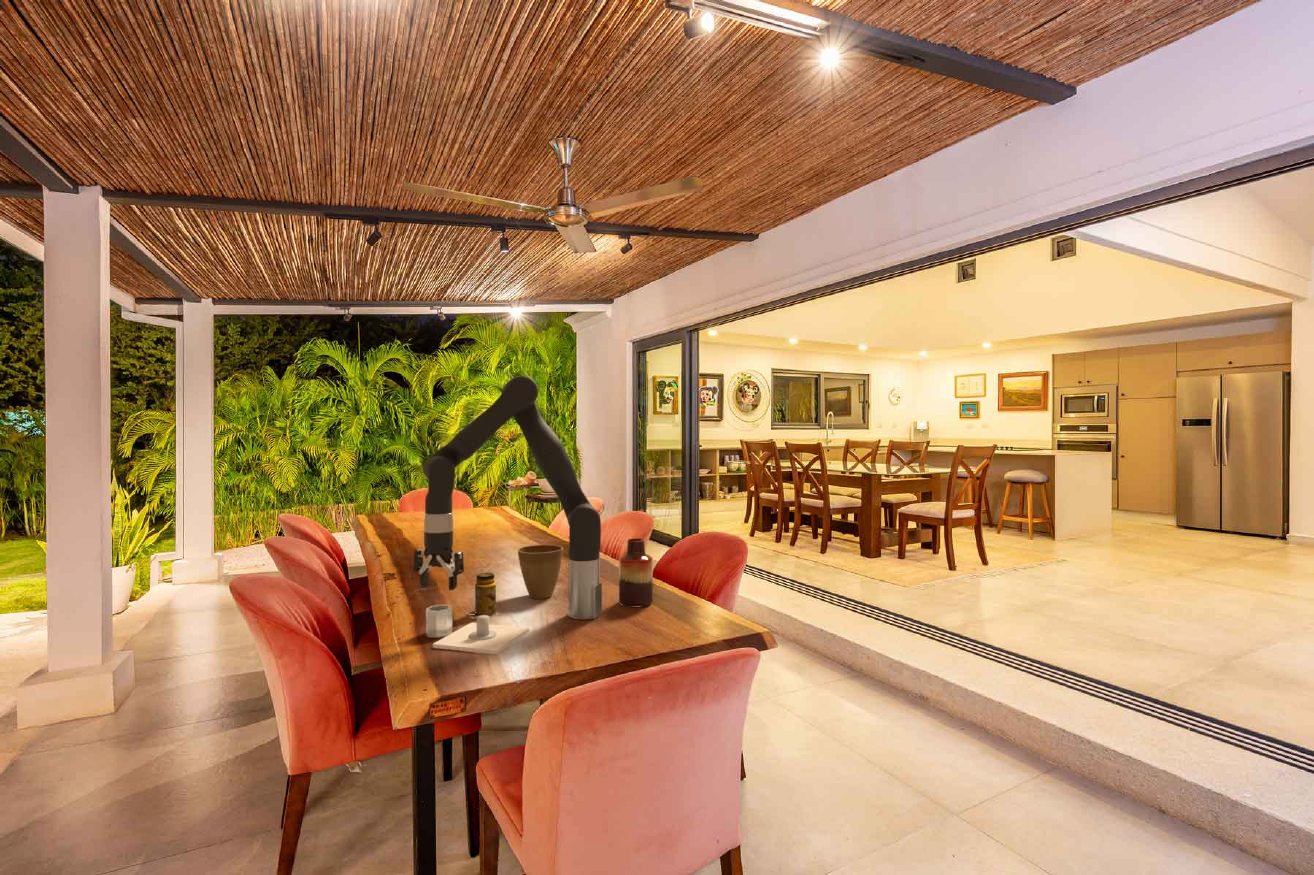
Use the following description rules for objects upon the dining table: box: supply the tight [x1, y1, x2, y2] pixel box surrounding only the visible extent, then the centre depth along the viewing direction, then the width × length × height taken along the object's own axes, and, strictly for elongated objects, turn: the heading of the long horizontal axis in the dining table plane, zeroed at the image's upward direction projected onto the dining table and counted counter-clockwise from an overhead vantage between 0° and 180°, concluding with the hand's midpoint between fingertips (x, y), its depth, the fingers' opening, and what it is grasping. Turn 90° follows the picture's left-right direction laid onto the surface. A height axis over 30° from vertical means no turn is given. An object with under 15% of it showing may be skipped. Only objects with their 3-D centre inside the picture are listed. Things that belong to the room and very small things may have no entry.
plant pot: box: [517, 544, 564, 600], centre depth 210 cm, size 15×15×16 cm
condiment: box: [464, 572, 500, 620], centre depth 190 cm, size 7×8×12 cm
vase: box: [618, 537, 654, 607], centre depth 202 cm, size 11×11×20 cm
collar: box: [425, 604, 453, 639], centre depth 172 cm, size 6×6×7 cm
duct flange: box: [432, 615, 530, 655], centre depth 168 cm, size 18×18×6 cm
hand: (438, 588), depth 172 cm, fingers open, 8 cm apart
